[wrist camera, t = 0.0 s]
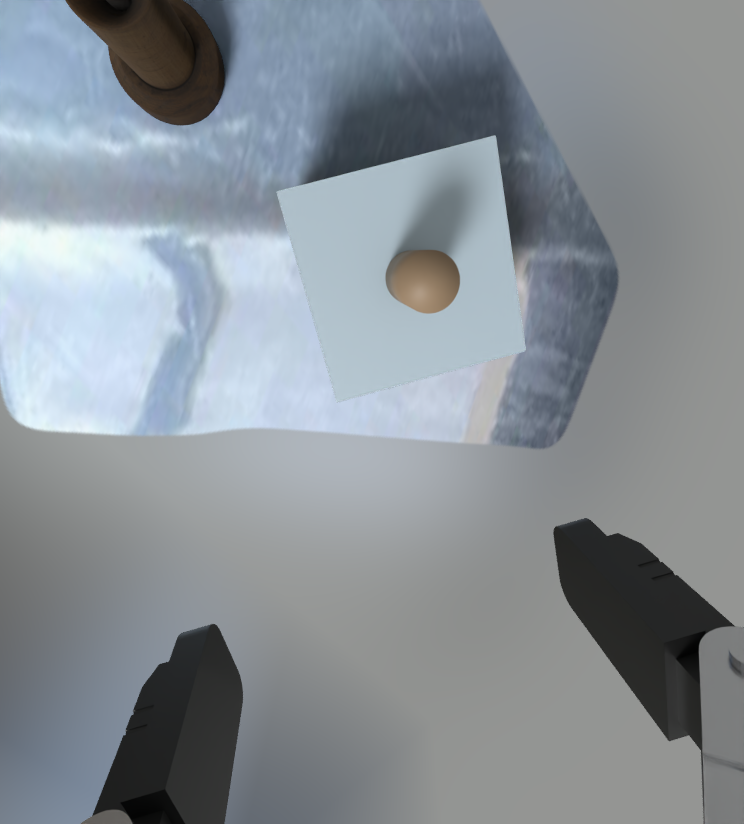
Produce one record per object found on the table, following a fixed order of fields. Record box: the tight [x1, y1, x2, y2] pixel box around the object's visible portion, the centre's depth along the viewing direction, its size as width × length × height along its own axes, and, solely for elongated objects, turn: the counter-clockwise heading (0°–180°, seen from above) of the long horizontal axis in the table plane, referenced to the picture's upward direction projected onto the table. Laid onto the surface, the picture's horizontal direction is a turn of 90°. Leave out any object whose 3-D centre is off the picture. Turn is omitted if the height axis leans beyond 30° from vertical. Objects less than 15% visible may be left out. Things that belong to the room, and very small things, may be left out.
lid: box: [276, 135, 526, 402], centre depth 28 cm, size 13×13×6 cm
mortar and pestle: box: [66, 0, 224, 125], centre depth 23 cm, size 7×6×18 cm
